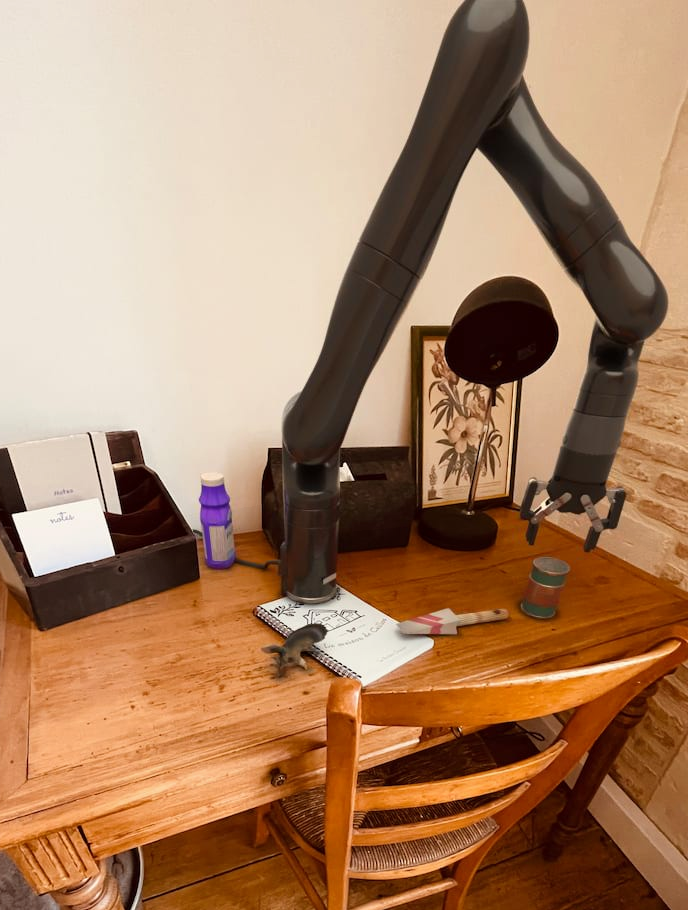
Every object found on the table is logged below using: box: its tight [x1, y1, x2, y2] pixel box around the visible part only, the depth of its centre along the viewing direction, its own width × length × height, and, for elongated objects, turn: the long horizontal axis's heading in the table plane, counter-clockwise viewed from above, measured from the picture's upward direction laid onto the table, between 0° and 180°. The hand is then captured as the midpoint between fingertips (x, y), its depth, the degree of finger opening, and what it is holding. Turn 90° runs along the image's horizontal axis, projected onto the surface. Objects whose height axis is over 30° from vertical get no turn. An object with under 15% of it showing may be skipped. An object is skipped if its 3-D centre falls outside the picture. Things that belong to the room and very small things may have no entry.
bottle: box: [198, 471, 236, 570], centre depth 98 cm, size 7×6×17 cm
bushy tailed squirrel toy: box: [260, 622, 329, 678], centre depth 77 cm, size 8×7×9 cm
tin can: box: [520, 556, 571, 621], centre depth 90 cm, size 6×6×9 cm
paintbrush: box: [395, 607, 509, 635], centre depth 86 cm, size 4×3×20 cm
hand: (558, 547), depth 85 cm, fingers open, 8 cm apart
